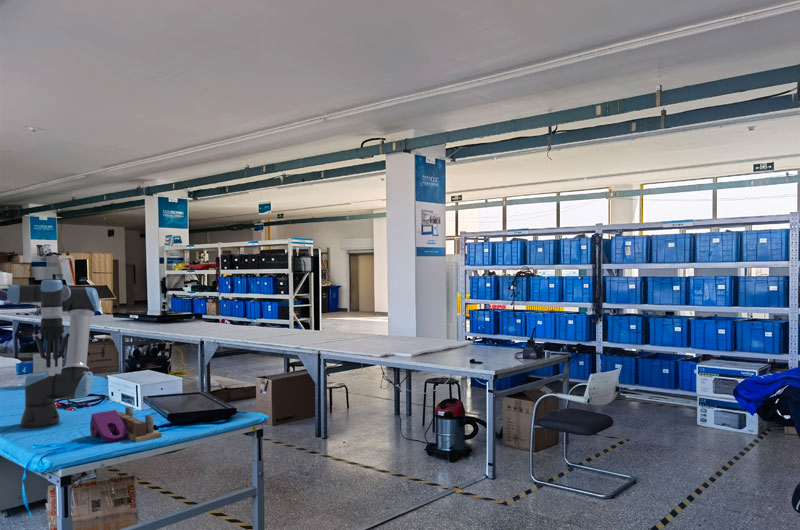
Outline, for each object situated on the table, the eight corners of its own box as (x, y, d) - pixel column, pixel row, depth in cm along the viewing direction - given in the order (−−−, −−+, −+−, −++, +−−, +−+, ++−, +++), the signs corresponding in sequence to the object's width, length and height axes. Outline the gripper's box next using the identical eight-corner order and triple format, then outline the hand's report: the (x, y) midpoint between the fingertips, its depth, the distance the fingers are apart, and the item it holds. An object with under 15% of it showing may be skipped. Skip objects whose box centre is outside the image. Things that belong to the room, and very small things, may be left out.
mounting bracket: (127, 452, 236) (112, 426, 248) (130, 435, 234) (115, 409, 245) (102, 457, 229) (88, 430, 241) (105, 440, 227) (91, 413, 238)
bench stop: (108, 427, 252) (108, 408, 252) (132, 423, 259) (131, 404, 259) (136, 442, 229) (136, 420, 229) (161, 436, 236) (161, 416, 236)
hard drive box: (63, 385, 355) (62, 353, 355) (52, 387, 348) (52, 354, 348) (43, 384, 359) (43, 352, 360) (32, 386, 352) (32, 354, 352)
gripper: (35, 318, 227) (35, 378, 227) (72, 316, 236) (72, 374, 236) (30, 318, 232) (31, 376, 232) (66, 316, 242) (67, 372, 241)
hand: (52, 375), depth 234 cm, fingers closed
